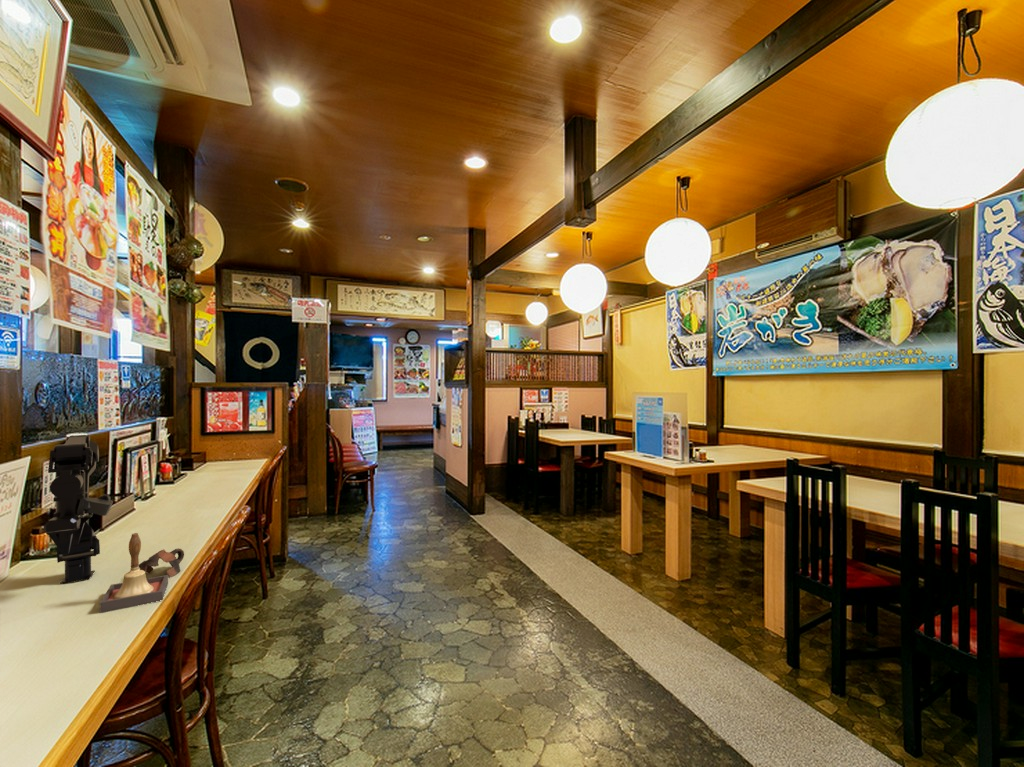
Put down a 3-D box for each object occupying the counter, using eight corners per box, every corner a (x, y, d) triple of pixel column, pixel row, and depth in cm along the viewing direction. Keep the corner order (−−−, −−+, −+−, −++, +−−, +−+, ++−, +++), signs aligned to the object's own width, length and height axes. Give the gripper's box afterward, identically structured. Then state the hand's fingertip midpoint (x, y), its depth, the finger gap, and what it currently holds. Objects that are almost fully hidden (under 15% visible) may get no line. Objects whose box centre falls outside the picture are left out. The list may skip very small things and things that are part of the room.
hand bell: (160, 585, 130) (160, 528, 130) (142, 599, 122) (141, 537, 122) (126, 587, 128) (126, 529, 128) (106, 601, 120) (105, 539, 120)
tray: (111, 593, 128) (110, 584, 128) (168, 583, 134) (168, 574, 134) (99, 613, 117) (99, 603, 117) (162, 600, 123) (162, 591, 123)
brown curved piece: (164, 583, 135) (146, 560, 134) (143, 594, 138) (126, 571, 137) (198, 558, 147) (182, 537, 145) (178, 568, 149) (163, 547, 148)
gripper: (101, 493, 122) (101, 554, 122) (116, 481, 138) (117, 534, 138) (42, 499, 116) (43, 562, 116) (65, 485, 132) (66, 541, 132)
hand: (70, 549), depth 125 cm, fingers open, 9 cm apart
